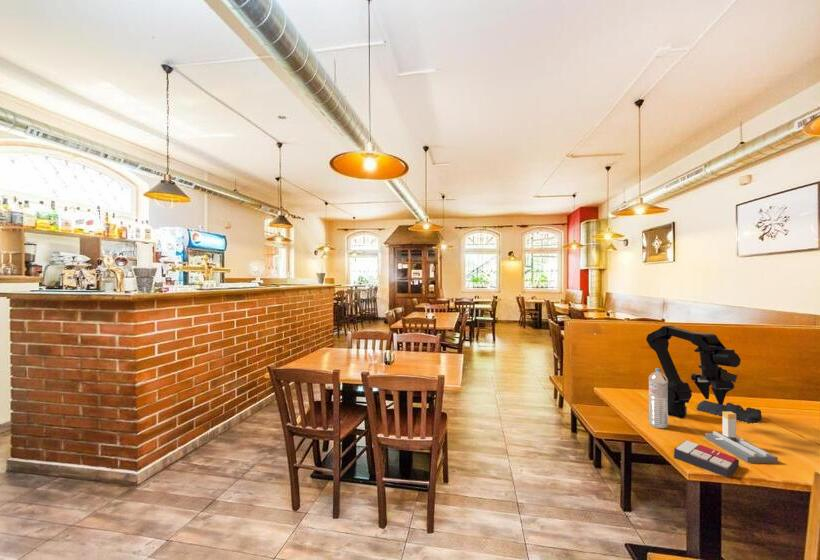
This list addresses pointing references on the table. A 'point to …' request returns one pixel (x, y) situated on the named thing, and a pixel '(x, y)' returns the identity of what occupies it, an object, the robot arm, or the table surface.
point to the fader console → (741, 448)
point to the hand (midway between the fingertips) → (713, 401)
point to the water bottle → (658, 400)
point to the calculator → (706, 458)
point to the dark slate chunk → (741, 414)
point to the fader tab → (729, 425)
